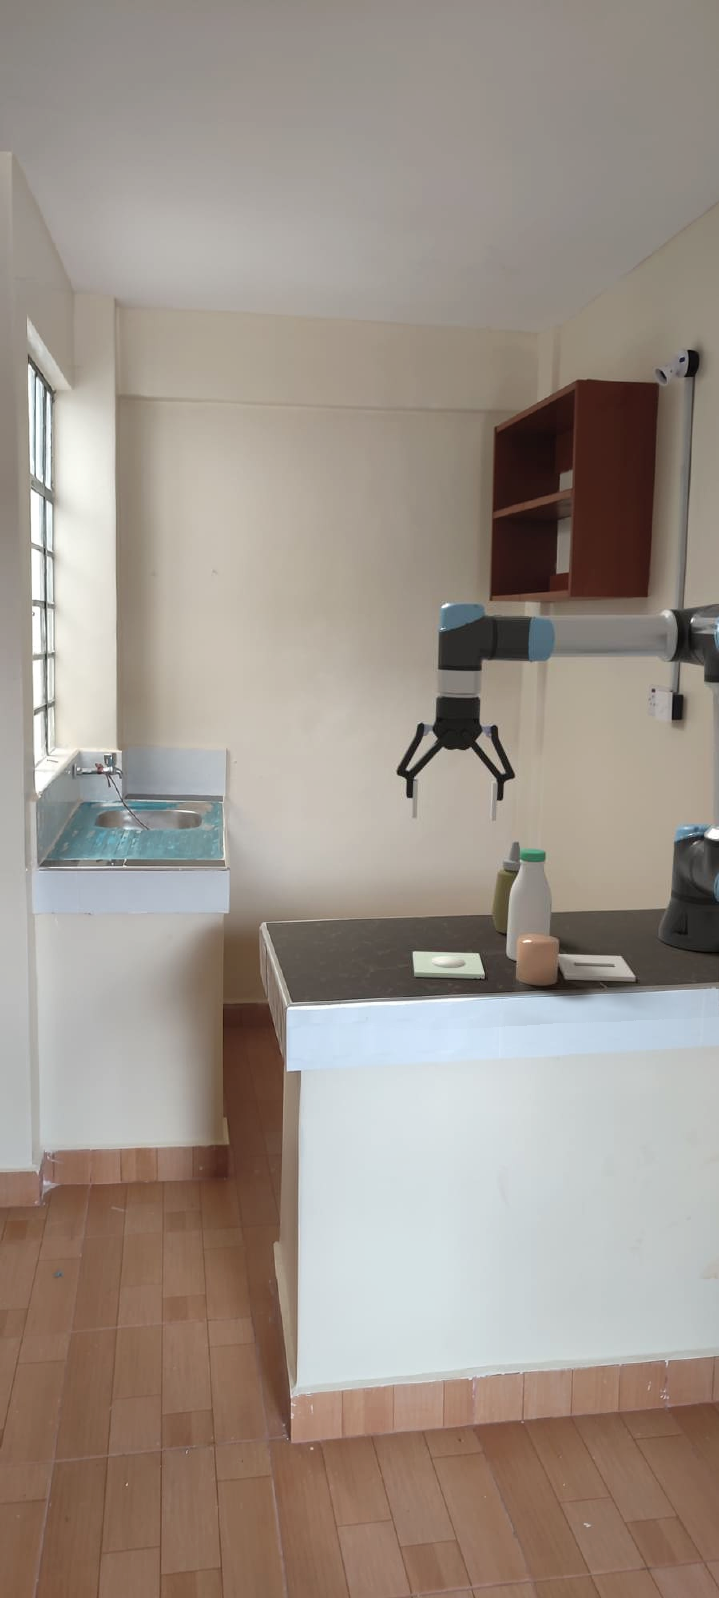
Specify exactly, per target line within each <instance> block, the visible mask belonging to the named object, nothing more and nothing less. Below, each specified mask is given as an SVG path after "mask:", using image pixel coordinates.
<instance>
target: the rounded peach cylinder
mask: <svg viewBox="0 0 719 1598" xmlns="http://www.w3.org/2000/svg"><path fill="white" fill-rule="evenodd" d="M559 948H560V940H559V938H557V937H554V936H552V935H550V936H549V935H543V934H525V935H521V936H519V937H518V945H517V961H516V966H515V968H516V969H515V979H516V980H517V981H519V982H520V983H522V982H523V984H526V985H529V986H530V985H531V986H550V985H554V984H556V983H557V982H558V969H559V966H558V954H560V953H559V950H560V949H559Z"/></svg>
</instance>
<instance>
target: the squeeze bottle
mask: <svg viewBox="0 0 719 1598" xmlns="http://www.w3.org/2000/svg"><path fill="white" fill-rule="evenodd" d="M520 851H521V847H520V842H519V841H512V844H511V846H510V851H509V855H508V858H504V859H503V860H502V869H500V870H499V871H497V875H496V882H495V888H494V896H493V902H492V906H491V907H492V909H491V916H492V918H493V922H494V926H495V929H496V932H498V933H501V934H504V935H507V930H508V912H509V898H510V892H511V888H512V885H513V883H514V881H515V879H516V877H517V875H518V873H519V870H520V867H521V862H520Z"/></svg>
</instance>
